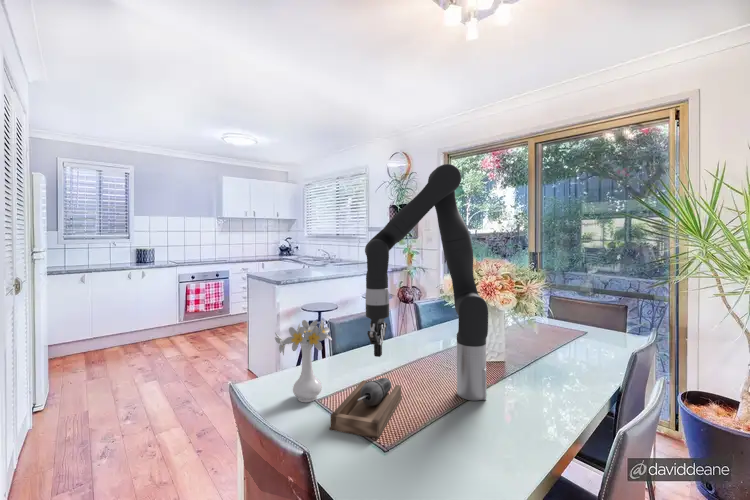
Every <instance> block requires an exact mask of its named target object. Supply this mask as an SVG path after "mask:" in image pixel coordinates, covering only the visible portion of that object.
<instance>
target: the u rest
mask: <svg viewBox="0 0 750 500" xmlns="http://www.w3.org/2000/svg"><path fill="white" fill-rule="evenodd" d="M366 382H368V380H362V381H361V382H360V383H359V384H358V385H357V386H356V387H355V388H354V390H352V392H351V393H350V394H348V396H347V397H346V398H345V399H344V400H343V401H342V402H341V403H340V405H339V406H337V408H336V409H335V410H334V411H333V412H332V413H331V414H330V426H329V430H330V431H335V432H338V433H339V432H340V433H346V434H351V435H355V436H362V437H366V436H368V437H367V438H371V437H373V438H372V439H376V438H377V439H378V440H380V437H381V436H382V434H383V432H384V431H385V429H384V428H386V427H387V425H388V423H389V422H390V420H391V418H392V416H393V414H394V413H395V412H396V409H397V408H398V406H399V404H400V402H401V401H402V399H403V395H402V385H401V384H399V385H398V384H395V385H394V388H393V389H392V390H391V392H390V393H387V394H386V395H385V396H384V398H383V400H382V401H381V403H380V404H378V405H375V406H369V405H367V404H365V403H364V402H363V400H360V401H357V400H358V399H360V398H361V389H362V387H363V386H364V384H365V383H366Z"/></svg>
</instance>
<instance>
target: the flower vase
mask: <svg viewBox="0 0 750 500" xmlns="http://www.w3.org/2000/svg"><path fill="white" fill-rule="evenodd" d="M320 321H321V322H320V324H319V327H318V326H317V325H318V320H314V321H312V322H311V323H310V324H309V322H308V321H307V320H305V319H303V320H302V321H301V323H300V322H299V323H298V326H297V329H295V328H294V327H293V326H290V327H289V328H288V332H289V334H290V336H289V337H286V338H285V339H284V338H283V337H281V336H280V335H279V334H278V333H277V332H274V334H275V336H276V337H274V340H275V342H276V344H277V343H278V344H279V345H278V346H279V347H278V351H279V354H281V353H282V356H285V348H286V345H289V344H292V345H291V351H292V352H295V351H296V350H297V349H298V348H299V344H300V347H301V348H300V349H301V372H300V375H299V377H298V379H297V380H296V381H295V382H294V384H293V386H292V393H293V395H295V397H296V398H297V400H298V401H299V402H301V403H311V402H314V401H316V400H317V399H318V396H319V395H320V393H321V392H322V390H323V385H322V382H321V381H320V380H319V378H317V376H316V375H315V373H314V369H313V361H312V351H313V350H312V349H313V347H315V348H316V349H317V350H318V351H322V350H323V346H322V345H323V344H322V343H321V342H320V341H324V340H326V339H329V341H333V339H332V337H331V336H330V334H328V333H330V330H331V329H330V327H328V326H325V323H324V322H325V321H324V320H323V319H321V320H320ZM301 325H302V326H301Z"/></svg>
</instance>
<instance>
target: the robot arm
mask: <svg viewBox="0 0 750 500" xmlns="http://www.w3.org/2000/svg"><path fill="white" fill-rule="evenodd" d="M461 182H462V173H461V170H460V169H459V168H458V167H457V166H456V165H454V164H452V163H444V164H442V165H441V164H440V165H439V166H437V167H436V168H435V169H434V170H433V171H432V172H431V173H430V174H429V176H428V179H427V183H426V185H424V186H423V188H422V189H421V190H420V192H419V193H417V195H416V196H415V197H414V198H413V199H411V200H410V201H409V202H408V203H407V204H406V205H404V206H403V207H402V208H401V209H400V210H399V211H398V212H397V213H396V214H395V215H394V216H393V217H392V218H391V219H390V220H389V221H388V222H386V223H387V224H385V226H384V227H383V228H382V229H381V230H380V231H379V232H378V233H377V234H376V235H374V236H373V237H372V238H371V239H370V240H369V241H367V243H366V245H365V248H364V253H365V255H366V269H367V270H366V274H365V275H366V276H365V281H366V282H365V316H366V318H367V319H370V324H369V329H370V330H368V331H367V337H368V340H369V343H370V344H371V345H373V350H374V351H373V355H374V357H375V358H377V357H379V358H380V357H382V356H383V343H384V341H385V338H386V332H387V327H388V323H387V322H385V319H388V318H389V317H390V293H389V292H390V291H389V276H388V274H389V271H388V269H389V264H390V263H389V261H390V260H389V259H390V251H391V249H392V248H394V247H395V246H396V244H398V243H399V242H401V241H402V240H403V239H404V238H405V237H407V235H408V234H409V233H410V232H411V231H413V229H414V228H415V227H416V226H417V225H418V224H419V223H420V221H421V220H422V219H423V218H424V217H425V216H426V215H427V214H428V213H429V211H431V209H433V208H435V211H436V212H435V213H436V216H437V223H438V230H439V234H440V239H441V240H440V241H441V245H442V250H443V255H444V258H445V262H446V266H447V269H448V272H449V276H450V278H451V284H452V290H453V300H454V301H453V302H454V310H455V312H456V314H457V315H458V331H457V333H456V395H458V397H459V398H462V399H464V400H468V401H473V402H474V401H476V402H477V401H482V400H483V401H487V337H488V334H489V333H488V332H489V308H488V304H487V302H486V300H485V299H484V298H483V297H481V296H480V294H479V292H478V289H477V285H476V283H475V278H474V250H473V244H472V239H471V235H470V231H469V228H468V227H467V224H466V222H465V221H464V218H463V216H462V215H461V212H460V210H459V208H458V204H457V197H456V190H457V189H458V188H459V186H460V185H461Z"/></svg>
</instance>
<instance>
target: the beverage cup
mask: <svg viewBox="0 0 750 500" xmlns="http://www.w3.org/2000/svg"><path fill="white" fill-rule="evenodd" d="M391 389H392V382H391V380H390V379H389V378H387V377H382V378H381V377H380V378H377V379H375V380H369V381H368V380H367V382H366V383H365V384H364V386H363V387H362V389H361V398H360V399H358V400H357V401H360V400H363V402H364V403H365V404H367V405H369V406H375V405H378V404H380V403H381V401H382V400H383V398H384V396H385V395H386V394H389V392H390V390H391Z"/></svg>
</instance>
